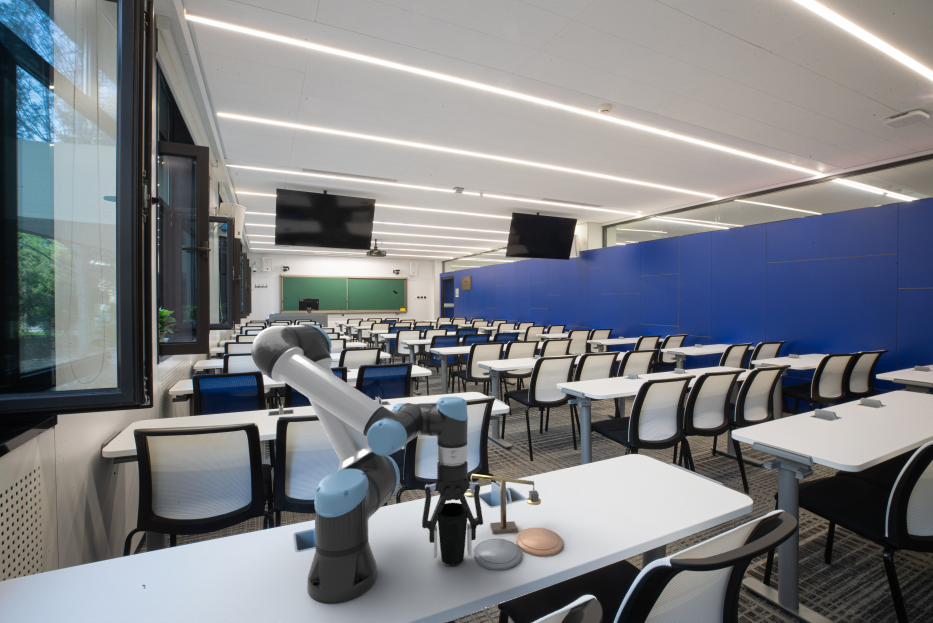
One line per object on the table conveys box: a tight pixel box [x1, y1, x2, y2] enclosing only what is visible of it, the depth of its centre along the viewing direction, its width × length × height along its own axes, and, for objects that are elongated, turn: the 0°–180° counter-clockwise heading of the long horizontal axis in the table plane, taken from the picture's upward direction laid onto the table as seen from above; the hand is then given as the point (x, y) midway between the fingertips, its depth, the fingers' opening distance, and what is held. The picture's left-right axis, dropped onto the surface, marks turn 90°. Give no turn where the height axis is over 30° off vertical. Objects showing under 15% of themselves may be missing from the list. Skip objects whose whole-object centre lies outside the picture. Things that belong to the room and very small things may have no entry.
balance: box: [464, 473, 542, 535], centre depth 114 cm, size 22×4×16 cm, turn 96°
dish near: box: [473, 538, 522, 571], centre depth 101 cm, size 12×12×1 cm
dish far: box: [516, 527, 563, 557], centre depth 106 cm, size 12×12×1 cm
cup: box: [437, 502, 468, 566], centre depth 99 cm, size 8×8×12 cm
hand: (452, 553), depth 99 cm, fingers closed on cup, 8 cm apart
